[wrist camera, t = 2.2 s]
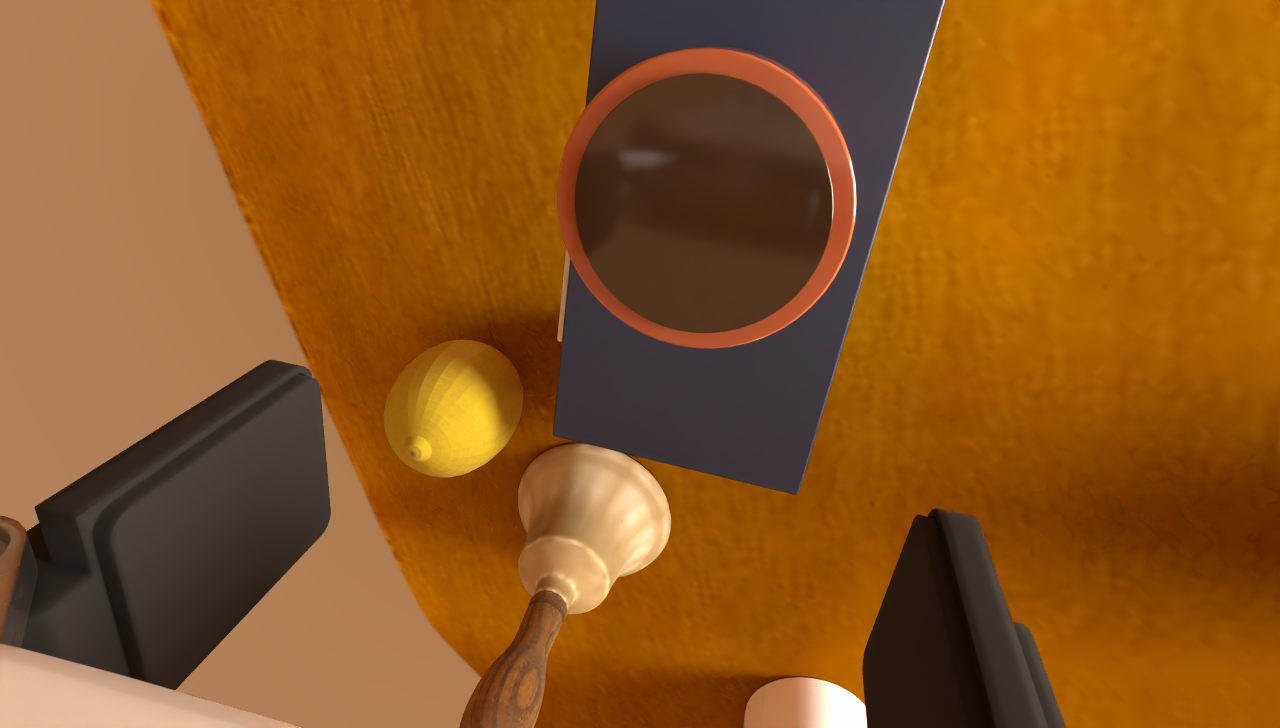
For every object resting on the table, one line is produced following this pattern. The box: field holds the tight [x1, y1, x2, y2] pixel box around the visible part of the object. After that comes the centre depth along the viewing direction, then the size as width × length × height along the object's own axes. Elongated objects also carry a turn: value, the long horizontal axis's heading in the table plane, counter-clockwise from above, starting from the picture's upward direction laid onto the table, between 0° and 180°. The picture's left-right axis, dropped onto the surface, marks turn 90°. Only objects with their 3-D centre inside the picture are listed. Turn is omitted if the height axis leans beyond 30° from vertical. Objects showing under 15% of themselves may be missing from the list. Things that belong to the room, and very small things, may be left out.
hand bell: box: [460, 443, 671, 728], centre depth 31 cm, size 8×8×16 cm
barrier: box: [553, 0, 945, 495], centre depth 26 cm, size 10×24×6 cm, turn 172°
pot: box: [557, 46, 857, 349], centre depth 20 cm, size 7×7×7 cm
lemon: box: [384, 340, 524, 477], centre depth 32 cm, size 6×6×8 cm
